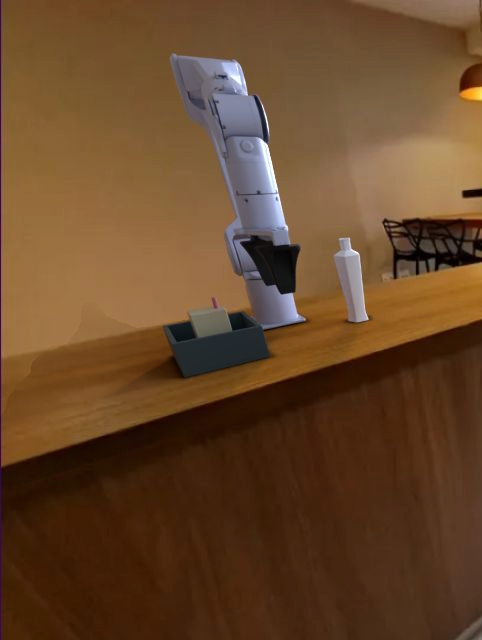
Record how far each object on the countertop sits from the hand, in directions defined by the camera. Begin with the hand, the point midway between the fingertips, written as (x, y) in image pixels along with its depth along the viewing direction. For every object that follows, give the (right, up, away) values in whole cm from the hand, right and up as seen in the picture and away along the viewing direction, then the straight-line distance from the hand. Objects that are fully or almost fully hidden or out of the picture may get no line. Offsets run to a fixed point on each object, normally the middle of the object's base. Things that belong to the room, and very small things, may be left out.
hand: (280, 288), depth 68 cm
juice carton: (-9, -10, 0) cm, 14 cm away
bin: (-9, -11, 0) cm, 14 cm away
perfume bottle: (+7, -3, +17) cm, 18 cm away
